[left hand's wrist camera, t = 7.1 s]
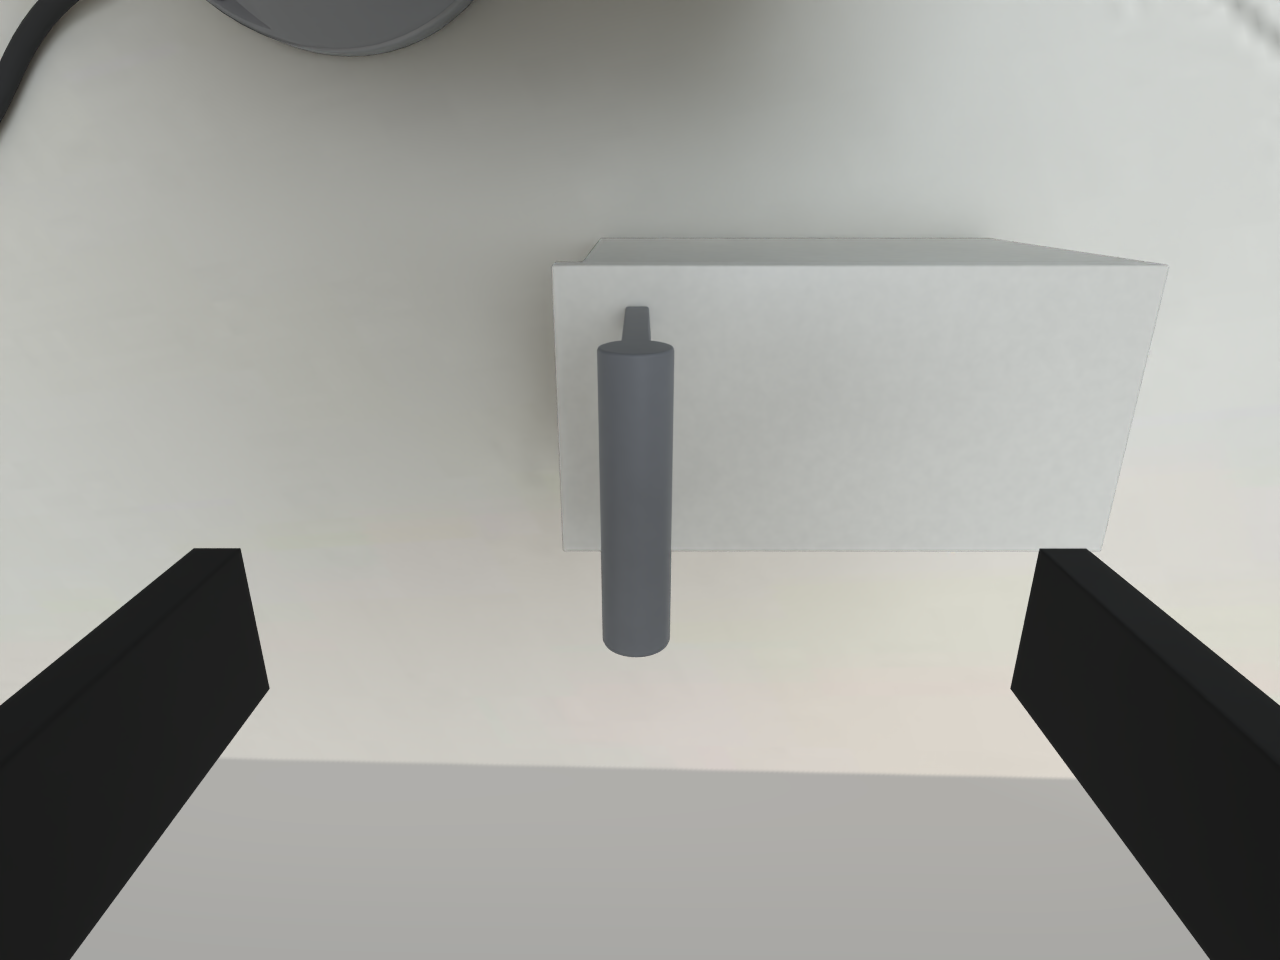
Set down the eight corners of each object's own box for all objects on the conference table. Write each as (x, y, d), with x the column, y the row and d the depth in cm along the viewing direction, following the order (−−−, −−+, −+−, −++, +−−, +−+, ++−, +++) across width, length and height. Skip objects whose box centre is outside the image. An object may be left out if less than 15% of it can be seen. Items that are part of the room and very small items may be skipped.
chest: (603, 438, 37) (588, 538, 27) (600, 238, 34) (581, 261, 23) (959, 438, 37) (1084, 538, 26) (990, 238, 34) (1148, 261, 23)
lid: (565, 538, 26) (531, 695, 18) (554, 261, 23) (508, 302, 15) (1085, 539, 26) (1281, 695, 18) (1148, 261, 23) (1423, 302, 15)
